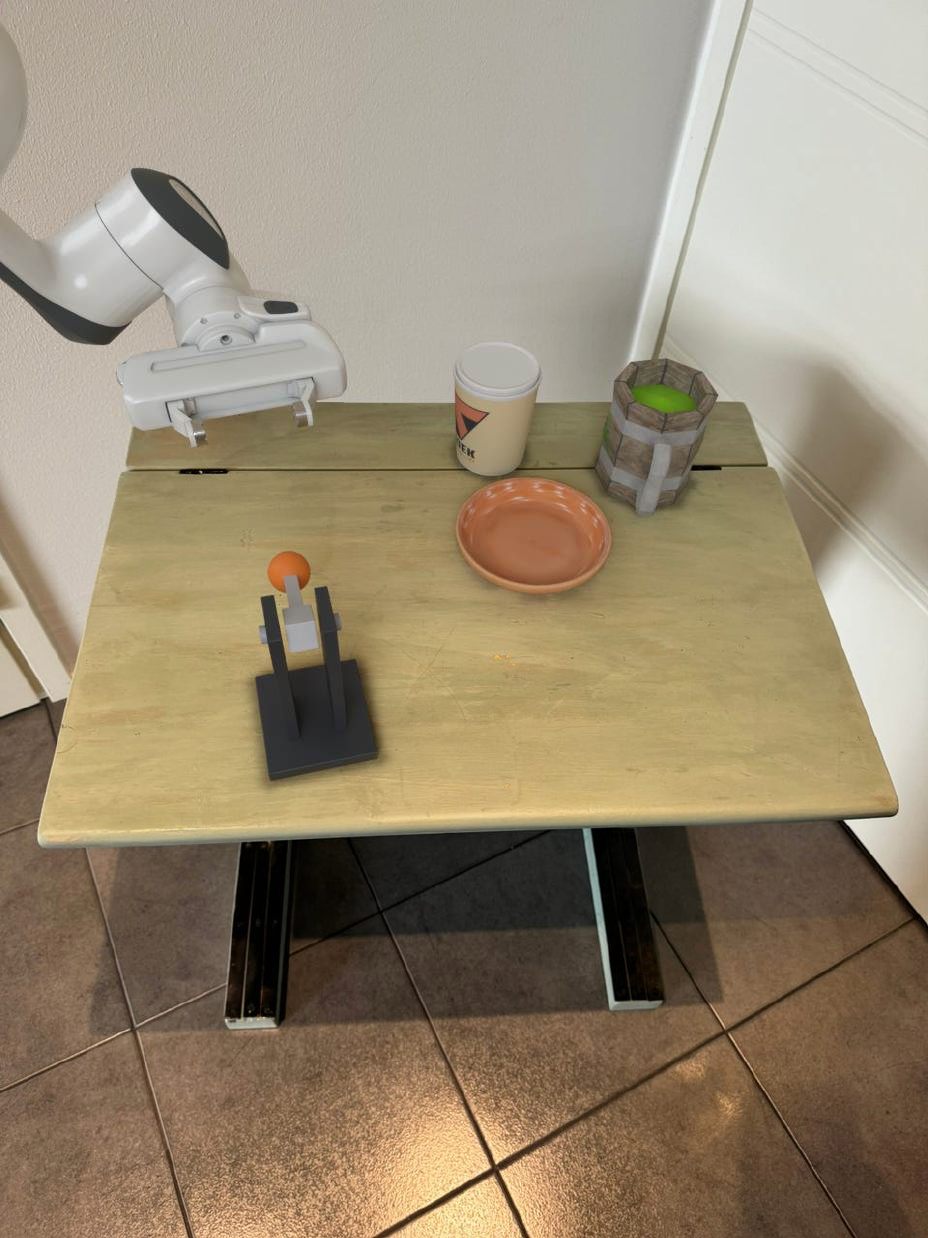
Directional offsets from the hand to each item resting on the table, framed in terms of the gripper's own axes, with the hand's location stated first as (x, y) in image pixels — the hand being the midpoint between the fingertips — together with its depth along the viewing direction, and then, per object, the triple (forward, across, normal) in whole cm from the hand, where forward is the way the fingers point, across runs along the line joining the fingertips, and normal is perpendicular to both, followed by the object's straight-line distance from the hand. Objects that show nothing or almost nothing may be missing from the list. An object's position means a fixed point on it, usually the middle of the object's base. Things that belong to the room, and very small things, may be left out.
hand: (252, 430), depth 74 cm
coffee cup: (-7, +27, +15) cm, 32 cm away
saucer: (+8, +25, +15) cm, 31 cm away
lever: (+17, -1, +6) cm, 18 cm away
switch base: (+22, -1, +15) cm, 26 cm away
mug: (+3, +41, +15) cm, 44 cm away
